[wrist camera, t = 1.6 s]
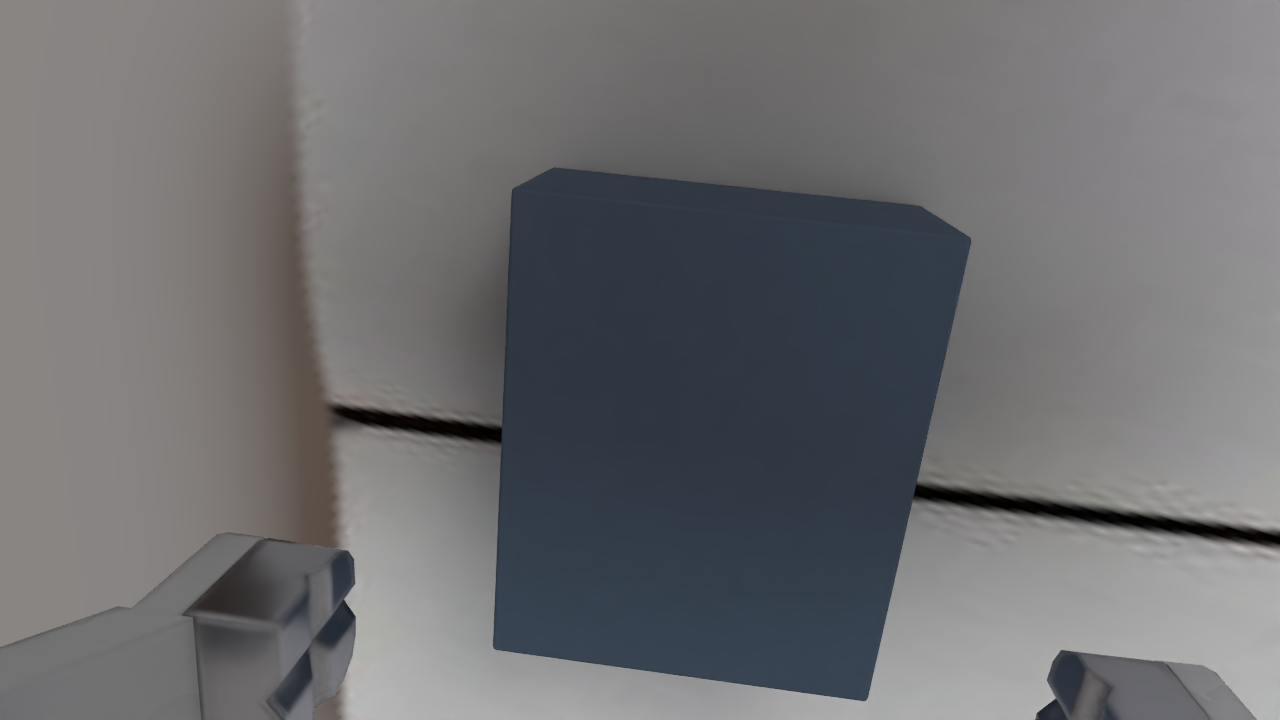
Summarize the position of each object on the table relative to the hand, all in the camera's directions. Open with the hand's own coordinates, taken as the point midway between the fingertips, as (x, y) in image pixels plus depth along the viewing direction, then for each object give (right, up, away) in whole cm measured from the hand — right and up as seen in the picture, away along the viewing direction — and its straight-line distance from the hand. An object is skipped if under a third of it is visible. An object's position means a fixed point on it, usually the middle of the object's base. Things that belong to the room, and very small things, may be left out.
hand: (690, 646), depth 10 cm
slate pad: (+1, +3, +6) cm, 7 cm away
